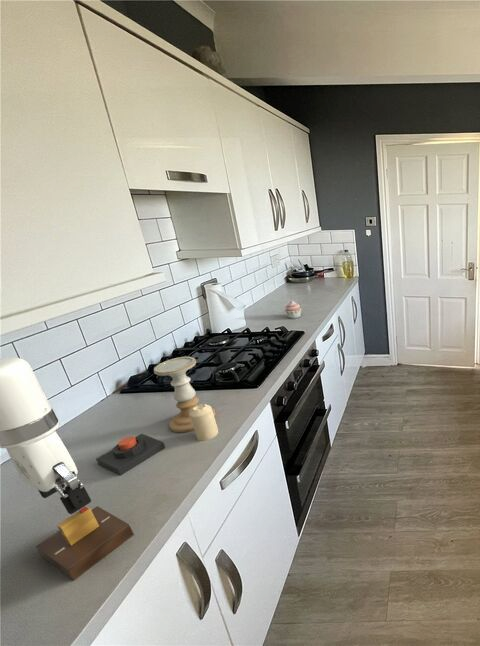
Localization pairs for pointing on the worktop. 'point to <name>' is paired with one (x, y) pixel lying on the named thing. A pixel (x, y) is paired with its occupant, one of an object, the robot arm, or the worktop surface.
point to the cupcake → (293, 310)
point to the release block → (130, 455)
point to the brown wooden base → (86, 545)
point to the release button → (127, 443)
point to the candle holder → (180, 391)
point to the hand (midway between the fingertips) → (67, 499)
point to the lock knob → (78, 525)
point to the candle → (203, 422)
